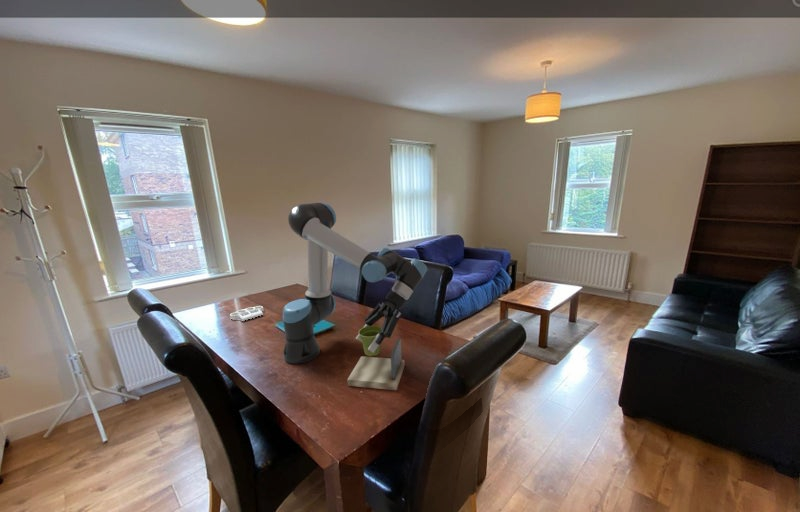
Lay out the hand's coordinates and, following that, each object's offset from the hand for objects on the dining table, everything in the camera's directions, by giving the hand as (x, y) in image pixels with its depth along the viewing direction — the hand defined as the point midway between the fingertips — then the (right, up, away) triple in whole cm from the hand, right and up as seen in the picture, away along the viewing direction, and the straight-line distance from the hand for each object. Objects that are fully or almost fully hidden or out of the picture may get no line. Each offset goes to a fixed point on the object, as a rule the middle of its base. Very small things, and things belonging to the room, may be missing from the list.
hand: (364, 345), depth 114 cm
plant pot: (+3, -4, +2) cm, 5 cm away
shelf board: (+5, -12, +4) cm, 14 cm away
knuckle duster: (-75, -3, +67) cm, 101 cm away
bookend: (+12, -10, +2) cm, 16 cm away
